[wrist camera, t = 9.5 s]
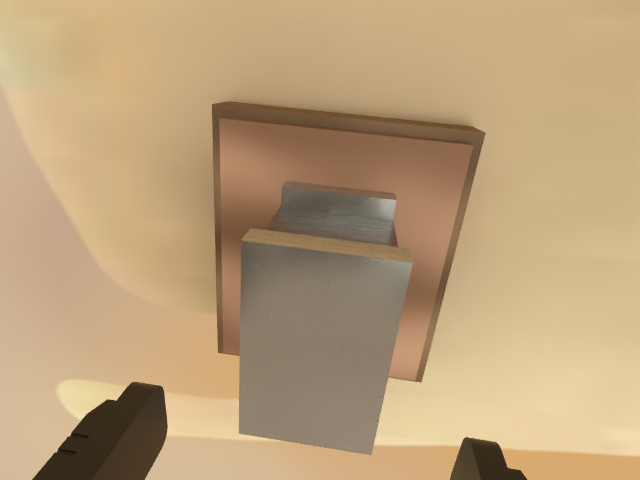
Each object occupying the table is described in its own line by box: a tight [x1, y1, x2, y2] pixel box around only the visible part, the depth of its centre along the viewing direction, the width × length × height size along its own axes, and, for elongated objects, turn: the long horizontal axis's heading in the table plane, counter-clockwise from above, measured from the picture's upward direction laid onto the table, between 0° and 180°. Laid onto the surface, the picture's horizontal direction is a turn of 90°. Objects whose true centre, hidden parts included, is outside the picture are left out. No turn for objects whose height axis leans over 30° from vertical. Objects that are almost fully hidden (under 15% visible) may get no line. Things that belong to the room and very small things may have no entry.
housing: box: [239, 180, 413, 455], centre depth 16 cm, size 5×8×7 cm, turn 175°
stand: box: [212, 102, 485, 382], centre depth 20 cm, size 14×12×2 cm
